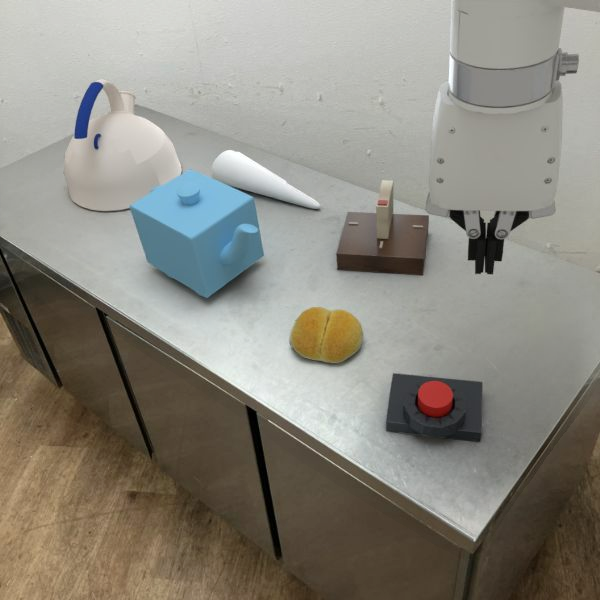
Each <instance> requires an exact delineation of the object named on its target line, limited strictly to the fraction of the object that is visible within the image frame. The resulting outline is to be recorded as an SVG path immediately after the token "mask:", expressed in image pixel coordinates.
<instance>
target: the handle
mask: <svg viewBox="0 0 600 600" xmlns="http://www.w3.org/2000/svg"><path fill="white" fill-rule="evenodd" d="M375 207H376V208H375V213H376V223H377V238H378V239H388V237H389V232H390V227H391V222H392V217H393V214H394V180H388V179H387V180H385V179H382V180H381V184H380V188H379V191H378V197H377V200H376V205H375Z"/></svg>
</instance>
